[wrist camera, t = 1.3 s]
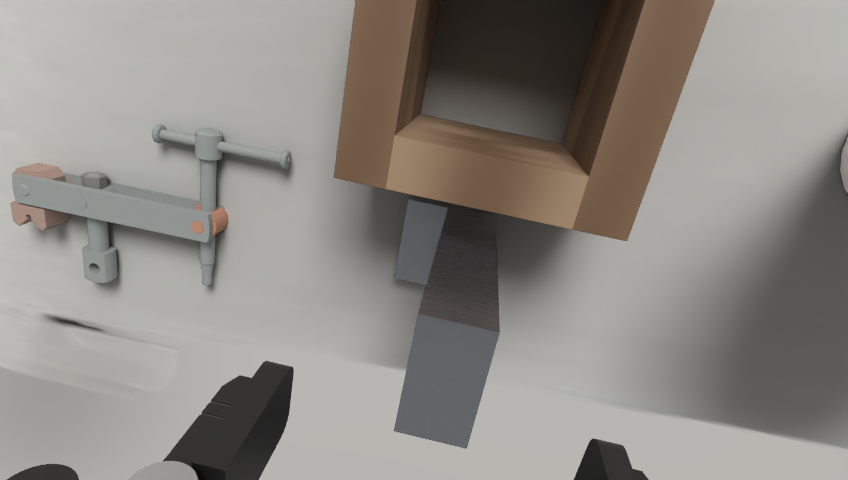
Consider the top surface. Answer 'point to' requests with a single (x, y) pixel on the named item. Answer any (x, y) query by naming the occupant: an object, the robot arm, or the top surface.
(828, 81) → the top surface
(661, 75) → the well block
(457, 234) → the grey upright bar
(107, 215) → the clamp
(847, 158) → the cup
